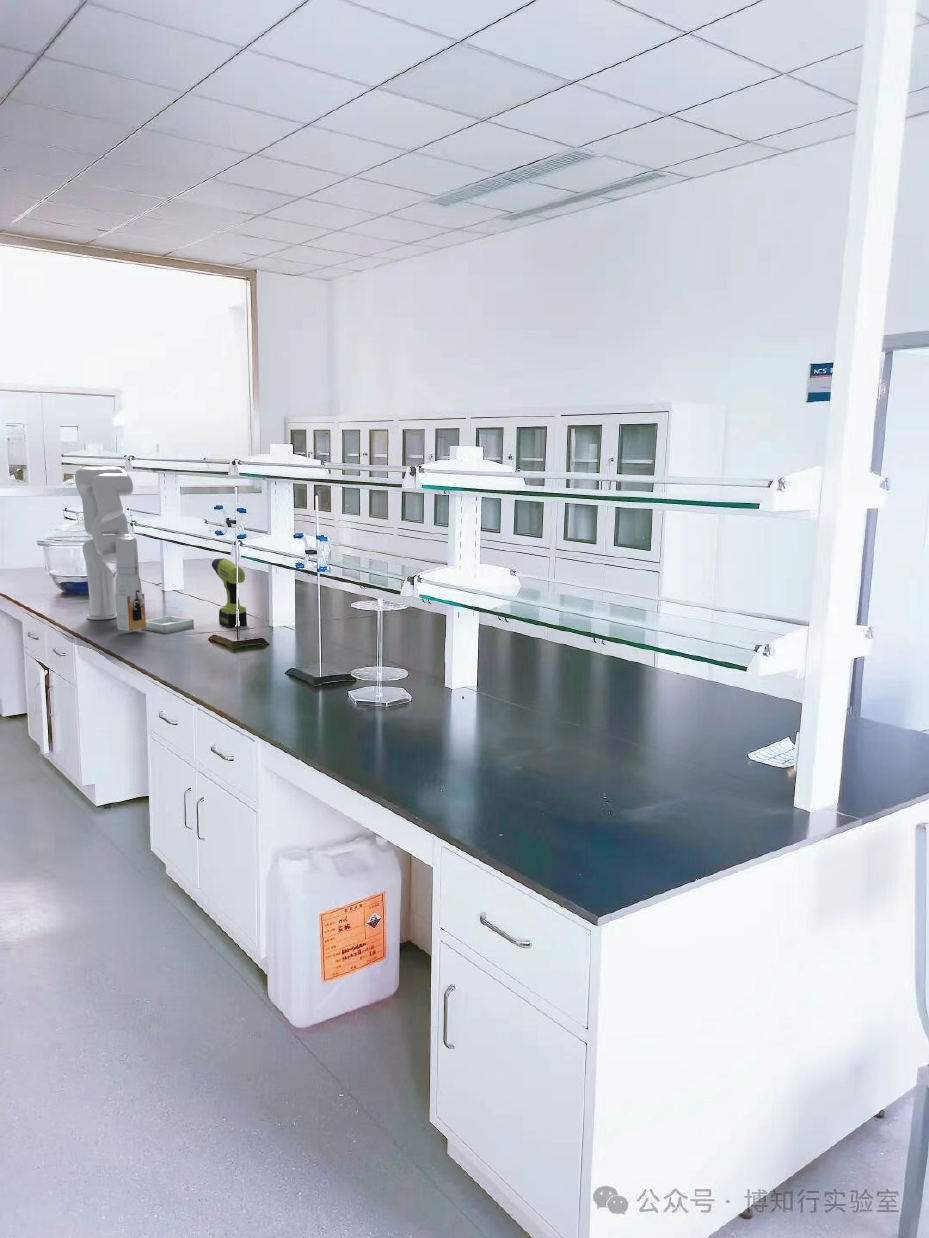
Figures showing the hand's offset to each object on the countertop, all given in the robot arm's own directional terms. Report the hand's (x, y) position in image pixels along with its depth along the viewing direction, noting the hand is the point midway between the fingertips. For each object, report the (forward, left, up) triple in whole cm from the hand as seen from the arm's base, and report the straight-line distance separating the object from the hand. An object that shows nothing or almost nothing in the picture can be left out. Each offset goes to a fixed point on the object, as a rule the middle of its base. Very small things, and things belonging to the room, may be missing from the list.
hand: (131, 618), depth 336 cm
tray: (+4, +13, -5) cm, 14 cm away
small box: (0, 0, -4) cm, 4 cm away
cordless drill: (+16, +32, -6) cm, 36 cm away
